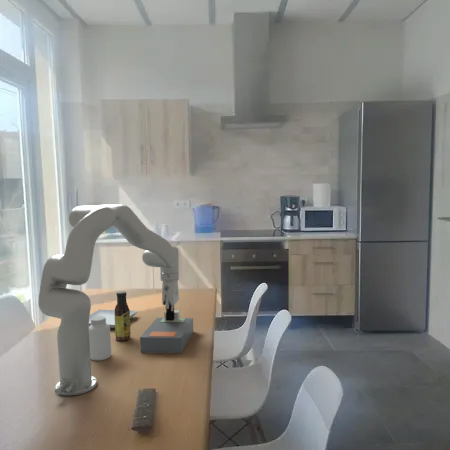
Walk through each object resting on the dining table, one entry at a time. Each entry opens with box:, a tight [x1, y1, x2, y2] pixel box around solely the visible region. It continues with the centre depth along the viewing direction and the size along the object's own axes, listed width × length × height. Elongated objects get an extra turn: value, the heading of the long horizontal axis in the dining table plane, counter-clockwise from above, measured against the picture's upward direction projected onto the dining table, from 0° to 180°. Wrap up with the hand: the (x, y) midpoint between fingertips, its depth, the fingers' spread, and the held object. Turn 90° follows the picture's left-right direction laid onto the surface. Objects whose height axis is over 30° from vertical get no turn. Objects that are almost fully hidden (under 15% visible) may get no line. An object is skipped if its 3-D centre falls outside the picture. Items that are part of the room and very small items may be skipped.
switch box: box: [139, 317, 194, 354], centre depth 176 cm, size 24×16×6 cm, turn 173°
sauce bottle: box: [114, 290, 131, 342], centre depth 179 cm, size 7×6×20 cm
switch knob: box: [163, 309, 181, 322], centre depth 183 cm, size 3×6×4 cm, turn 83°
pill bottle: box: [89, 316, 112, 361], centre depth 161 cm, size 8×8×15 cm
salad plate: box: [89, 309, 138, 329], centre depth 203 cm, size 21×21×3 cm
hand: (170, 319), depth 179 cm, fingers closed
